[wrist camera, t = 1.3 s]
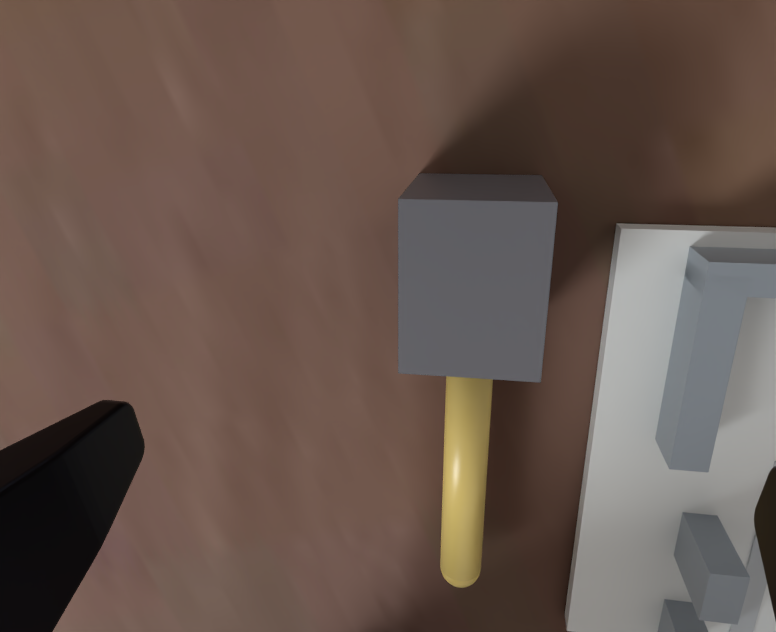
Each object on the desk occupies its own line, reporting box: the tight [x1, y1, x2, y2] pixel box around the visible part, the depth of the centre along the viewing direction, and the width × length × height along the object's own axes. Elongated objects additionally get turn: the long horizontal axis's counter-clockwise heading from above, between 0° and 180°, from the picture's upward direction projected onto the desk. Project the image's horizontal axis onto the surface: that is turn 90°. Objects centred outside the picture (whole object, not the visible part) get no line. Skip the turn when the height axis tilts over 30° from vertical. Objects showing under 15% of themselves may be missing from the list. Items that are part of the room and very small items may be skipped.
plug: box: [398, 173, 558, 588], centre depth 20 cm, size 16×4×5 cm, turn 0°
